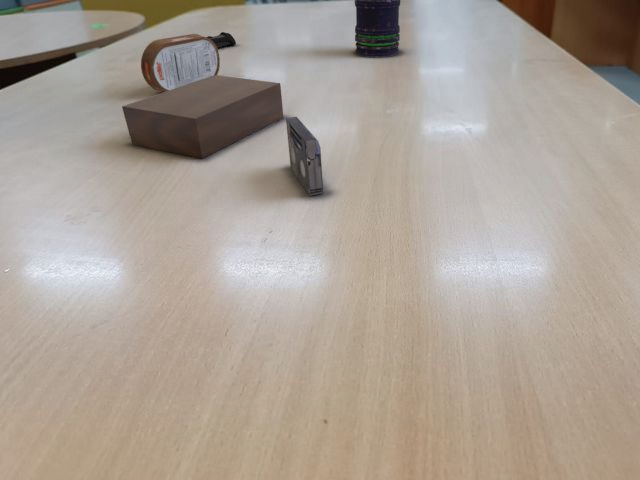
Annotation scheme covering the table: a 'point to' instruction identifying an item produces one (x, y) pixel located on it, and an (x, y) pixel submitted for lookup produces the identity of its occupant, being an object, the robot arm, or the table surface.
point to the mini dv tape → (305, 156)
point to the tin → (179, 61)
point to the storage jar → (377, 28)
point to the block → (203, 115)
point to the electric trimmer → (223, 39)
